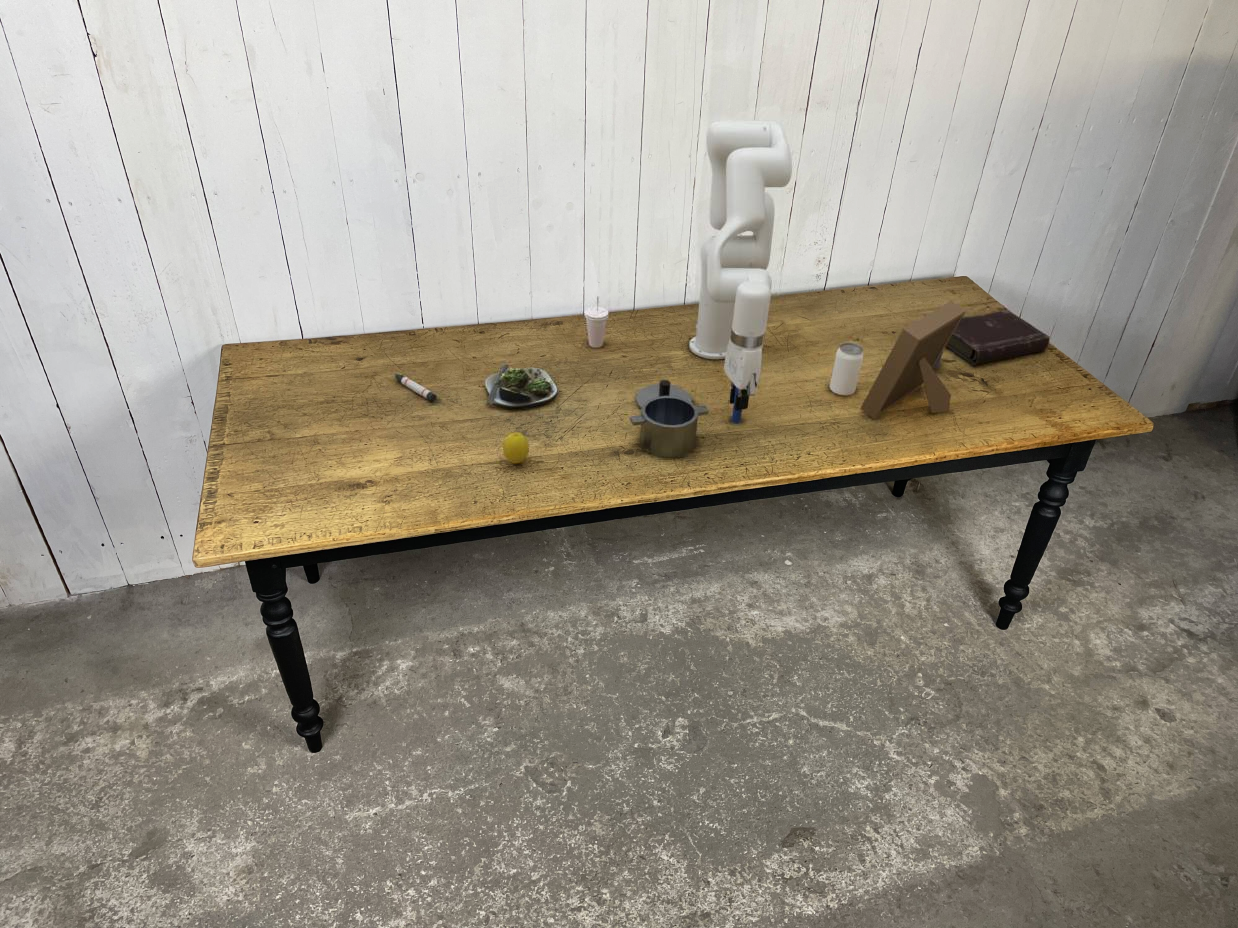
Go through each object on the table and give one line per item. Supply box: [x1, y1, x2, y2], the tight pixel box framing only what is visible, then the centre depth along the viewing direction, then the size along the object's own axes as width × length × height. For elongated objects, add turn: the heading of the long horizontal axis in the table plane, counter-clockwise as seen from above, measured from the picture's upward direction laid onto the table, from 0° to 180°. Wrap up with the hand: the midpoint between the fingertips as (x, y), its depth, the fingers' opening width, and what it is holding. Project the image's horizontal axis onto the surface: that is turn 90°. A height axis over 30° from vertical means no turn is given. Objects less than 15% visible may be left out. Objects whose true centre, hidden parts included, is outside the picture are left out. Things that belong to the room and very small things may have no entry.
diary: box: [945, 309, 1051, 366], centre depth 240 cm, size 19×25×5 cm
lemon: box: [502, 432, 530, 464], centre depth 188 cm, size 6×6×8 cm
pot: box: [629, 396, 709, 459], centre depth 196 cm, size 13×18×8 cm
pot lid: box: [635, 379, 693, 410], centre depth 210 cm, size 14×14×6 cm
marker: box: [394, 373, 438, 403], centre depth 212 cm, size 15×2×2 cm, turn 48°
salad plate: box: [484, 363, 558, 411], centre depth 213 cm, size 19×18×5 cm
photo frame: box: [859, 300, 967, 420], centre depth 206 cm, size 15×22×25 cm
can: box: [829, 342, 864, 397], centre depth 216 cm, size 6×6×12 cm
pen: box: [731, 387, 746, 424], centre depth 203 cm, size 2×2×12 cm
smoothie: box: [584, 295, 610, 349], centre depth 230 cm, size 6×6×14 cm
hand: (738, 405), depth 204 cm, fingers closed on pen, 2 cm apart
